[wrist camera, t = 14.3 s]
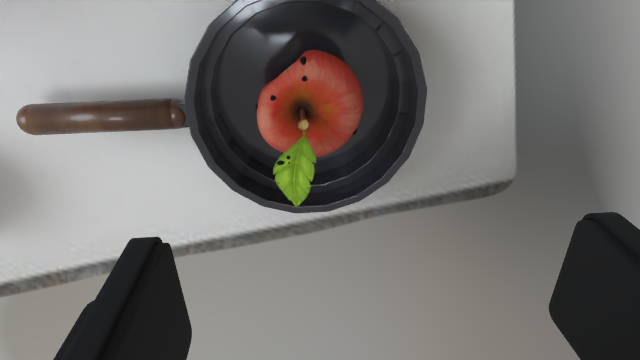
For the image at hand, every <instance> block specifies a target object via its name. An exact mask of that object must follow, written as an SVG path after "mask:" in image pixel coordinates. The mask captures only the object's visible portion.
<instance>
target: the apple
mask: <svg viewBox="0 0 640 360" xmlns="http://www.w3.org/2000/svg"><path fill="white" fill-rule="evenodd" d="M255 108H256V110H257V123H258V127H259V130H260V133H261V135H262V136H263V138H264V139H265V141H266V142H267V143H268V144H269V145H270V146H272V147H273V148H275V149H277V150H279V151H281V152H283V153H284V154H282V155H281V156H280V158H279V159H278V160H277V162H276V163H275V166H274V168H273V175H274V174H276V175H275V182H276V183H277V185H278V187H279V188H280V189H281V191H282V192H283V193H284V194H285V195H286V197H287V198H288V199H289V200H291V201H292V202H293V204H294V205H295V207H297V206H299V205H300V204H301V203H302V202H303V201H304V200H305V198H306V197H307V195H308V193H309V191H310V188H311V185H310V181H311V182H312V180H313V177H314V170H315V169H314V164H313V163H312V162H314V163H316V157H321V156H325V155H327V154H330V153H332V152H334V151H335V150H337V149H338V148H340V147H341V146H342V145H343V144H344V143H346V142H347V141H348V140H349V138H350V137H351V136H352V135H355V134H356V133H357V129H356V128H357V127H358V124H359V122H360V119H361V116H362V111H363V96H362V90H361V87H360V84H359V81H358V79H357V77H356V75H355V74H354V72H353V71H352V70H351V68H350V67H349V66H348V65H347V64H346V63H345V62H344V61H342V60H341V59H339V58H338V57H336V56H334V55H332V54H330V53H327V52H324V51H320V50H308V51H305V52H304V53H303V55H302V56H301V57H300V58H299V59H298V60H297V61H296V62H295V63H294V64H292V65H291V66H290V67H289V68H288V69H286V70H285V71H284V72H283V73H281V74H280V75H279V76H278V77H277V78H275V79H274V80H273V81H271V82H269V83H267V84H266V85H265V86H264V87H263V89H262V91H261V93H260V96H259V99H258V103H257V104H256V105H255ZM309 180H310V181H309Z"/></svg>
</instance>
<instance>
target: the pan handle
mask: <svg viewBox="0 0 640 360" xmlns="http://www.w3.org/2000/svg"><path fill="white" fill-rule="evenodd" d="M16 120H17V124H18V126H19V127H20V128H21V129H22V130H23V131H24V132H26V133H28V134H32V135H51V134H73V133H96V132H118V131H140V130H163V129H179V128H184V127H189V121H188V116H187V110H186V105H185V99H175V98H171V99H146V100H122V101H98V102H73V103H49V104H30V105H26V106H24V107H22V108H21V109H20V110H19V111H18V113H17V116H16Z"/></svg>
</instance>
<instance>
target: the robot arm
mask: <svg viewBox="0 0 640 360" xmlns="http://www.w3.org/2000/svg"><path fill="white" fill-rule="evenodd" d="M549 312H550V315H551V318H552V320H553V321H554V323H555V324H556V326H557V327H558V328H559V330H560V331H561V332H562V334H563V335H564V337H565V338H566V340H567V341H568V342H569V344H570V345H571V347H572V348H573V349H574V351H575V352H576V353H577V355H578V356H579V358H580V359H581V360H640V230H639V229H638V228H636V227H635V226H634V225H633V224H632V223H630V222H629V221H628V220H627V219H625V218H624V217H623V216H621V215H620V214H618V213H614V212H607V213H590V214H587V215H585V216H584V217H583V219H582V220H581V221H579V222H578V223H577V224H576V227H575V229H574V232H573V235H572V238H571V241H570V244H569V247H568V250H567V253H566V256H565V259H564V262H563V265H562V268H561V271H560V274H559V277H558V280H557V283H556V285H555V289H554V291H553V294H552V297H551V301H550V304H549ZM191 330H192V329H191V324H190V320H189V316H188V312H187V308H186V305H185V300H184V297H183V293H182V289H181V285H180V281H179V277H178V273H177V269H176V265H175V261H174V257H173V254H172V250H171V246H170V244H169V243H162V240H161V239H160V238H159V237H147V238H133V239H131V240H130V241H129V242H128V244H127V246H126V247H125V249H124V251H123V252H122V254H121V256H120V258H119V259H118V261H117V263H116V264H115V266H114V268H113V270H112V271H111V273H110V275H109V276H108V278H107V280H106V282H105V283H104V285H103V287H102V289H101V290H100V292H99V294H98V295H97V297H96V299H95V301H92V302H90V303H89V304H87V306H86V307H85V308H84V310H83V311H82V313H81V314H80V316H79V318H78V319H77V321H76V323H75V325H74V326H73V328H72V330H71V331H70V333H69V334H68V336H67V338H66V339H65V341H64V343H63V344H62V346H61V348H60V349H59V351H58V353H57V354H56V357H55V358H54V360H186V359H187V355H188V351H189V347H190V343H191V337H192V331H191Z"/></svg>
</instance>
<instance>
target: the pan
mask: <svg viewBox="0 0 640 360" xmlns="http://www.w3.org/2000/svg"><path fill="white" fill-rule="evenodd" d="M308 50H320V51H324V52H327V53H330V54H332V55H334V56H336V57H338V58H339V59H341V60H342V61H344V62H345V63H346V64H347V65H348V66H349V67H350V68H351V70H352V71H353V72H354V74H355V75H356V77H357V79H358V81H359V84H360V87H361V90H362V96H363V111H362V116H361V119H360V122H359V124H358V127H357V128H356V129H357V133H356V134H355V135H352V136H351V137H350V138H349V140H348V141H347V142H346V143H344V144H343V145H342V146H341V147H340V148H338V149H337V150H335V151H334V152H332V153H330V154H327V155H325V156H321V157H316V163H314V162H312V163H313V164H314V169H315V170H314V177H313V180H312V182H311V181H310V180H309V181H310V185H311V188H310V191H309V193H308V195H307V197H306V198H305V200H304V201H303V202H302V203H301V204H300V205H299V206H297V207H295V205H294V204H293V202H292V201H291V200H289V199H288V198H287V197H286V195H285V194H284V193H283V192H282V191H281V189H280V188H279V187H278V185H277V183H276V182H275V175H276V174H274V175H273V168H274V166H275V163H276V162H277V160H278V159H279V158H280V156H281V155H282V154H284V153H283V152H281V151H279V150H277V149H275V148H273V147H272V146H270V145H269V144H268V143H267V142H266V141H265V139H264V138H263V136H262V135H261V133H260V130H259V127H258V123H257V110H256V108H255V105H256V104H257V103H258V99H259V96H260V93H261V91H262V89H263V87H264V86H265V85H266V84H267V83H269V82H271V81H273V80H274V79H275V78H277V77H278V76H279V75H280V74H281V73H283V72H284V71H285V70H286V69H288V68H289V67H290V66H291V65H292V64H294V63H295V62H296V61H297V60H298V59H299V58H300V57H301V56H302V55H303V53H304V52H305V51H308ZM190 60H191V61H190V64H189V71H188V77H187V84H186V91H185V105H186V110H187V116H188V121H189V127H190V132H191V136H192V138H193V140H194V141H195V143H196V145H197V147H198V149H199V151H200V152H201V154H202V156H203V158H204V160H205V162H206V163H207V165H208V167H209V168H210V169H211V170H212V171H213V172H214V173H215V174H216V175H217V176H218V177H219V178H220V179H222V180H223V181H224V182H225V183H226V184H227V185H228V186H229V187H230V188H231V189H232V190H233V191H235V192H237V193H239V194H240V195H242V196H244V197H246V198H248V199H250V200H252V201H254V202H256V203H258V204H259V205H261V206H264V207H268V208H273V209H278V210H282V211H287V212H292V213H310V212H327V211H331V210H334V209H337V208H340V207H343V206H346V205H349V204H352V203H355V202H358V201H359V200H360V201H361V200H362V199H364V198H365V197H367V196H368V195H370V194H371V193H373V192H374V191H376V190H377V189H379V188H380V187H381V186H383V185H384V184H386V183H387V182H388V181H389V180H390V179H391V178H392V177H393V175H394V174H395V173H396V172H397V171H398V169H399V168H400V167H401V166H402V165H403V164H404V162H405V161H406V160H407V159H408V158H409V156H410V154H411V152H412V149H413V147H414V145H415V142H416V140H417V138H418V136H419V133H420V131H421V129H422V126H423V123H424V113H425V104H426V94H427V87H426V82H425V78H424V73H423V69H422V64H421V60H420V55H419V52H418V50H417V48H416V47H415V45H414V43H413V42H412V40H411V39H410V37H409V35H408V34H407V32H406V31H405V29H404V27H403V26H402V24H401V23H400V21H399V19H398V18H397V17H396V16H394V15H393V14H392V13H391V12H389V11H388V10H387V9H386V8H384V7H383V6H382V5H380V4H379V3H378V2H377V1H375V0H236V1H235V2H234V3H233V4H232V5H231V6H229V7H228V8H227V9H226V10H225V11H224V12H223V13H222V14H220V15H219V16H218V17H217V18H216V19H215V20H214V21H213V22H212V23H210V25H209V26H208V28H207V30H206V32H205V33H204V35H203V37H202V39H201V41H200V43H199V45H198V46H197V48H196V50H195V52H194V54H193V56H192V58H191V59H190Z"/></svg>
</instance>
